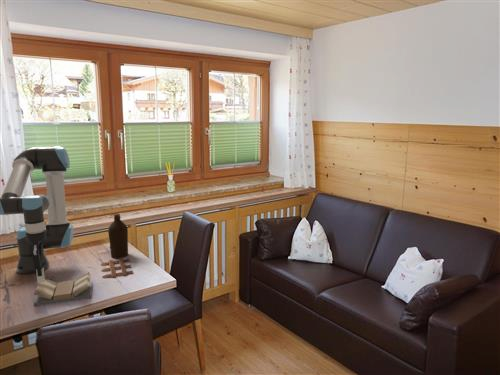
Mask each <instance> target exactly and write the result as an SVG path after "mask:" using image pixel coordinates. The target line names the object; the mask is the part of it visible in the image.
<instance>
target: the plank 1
mask: <svg viewBox="0 0 500 375" xmlns="http://www.w3.org/2000/svg"><path fill="white" fill-rule="evenodd" d="M57 284H58V282H55V281H53V280H49V279H46V278H45V282H41V283H37V287H36V289H35V291H34V293H33V295H34V296H40V297H43V298H46V299H51V298H52V296H53V293H54V290H55V287H57Z"/></svg>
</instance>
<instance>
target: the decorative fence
mask: <svg viewBox="0 0 500 375" xmlns="http://www.w3.org/2000/svg"><path fill="white" fill-rule="evenodd" d="M125 263H130V259H129V258H126V259H124V257H122V258H118V260H113V259H109V260H108V261H106V262H102V263H100V266H101V267H102V266H103V267H104V266H109V267H106V268H103V269H101V272H103V273H105V272H110V274H108V273H107V274H104V275H102V276H101V277H102V279H110V277H111V278H116V276H117V277H123V276H128V275H134V271H133V270H130V271H129V270H127V269H131V268H132V264H127V265H125ZM118 264H119V266H115V265H118ZM119 270H121V271H120V272H116V271H119Z"/></svg>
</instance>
